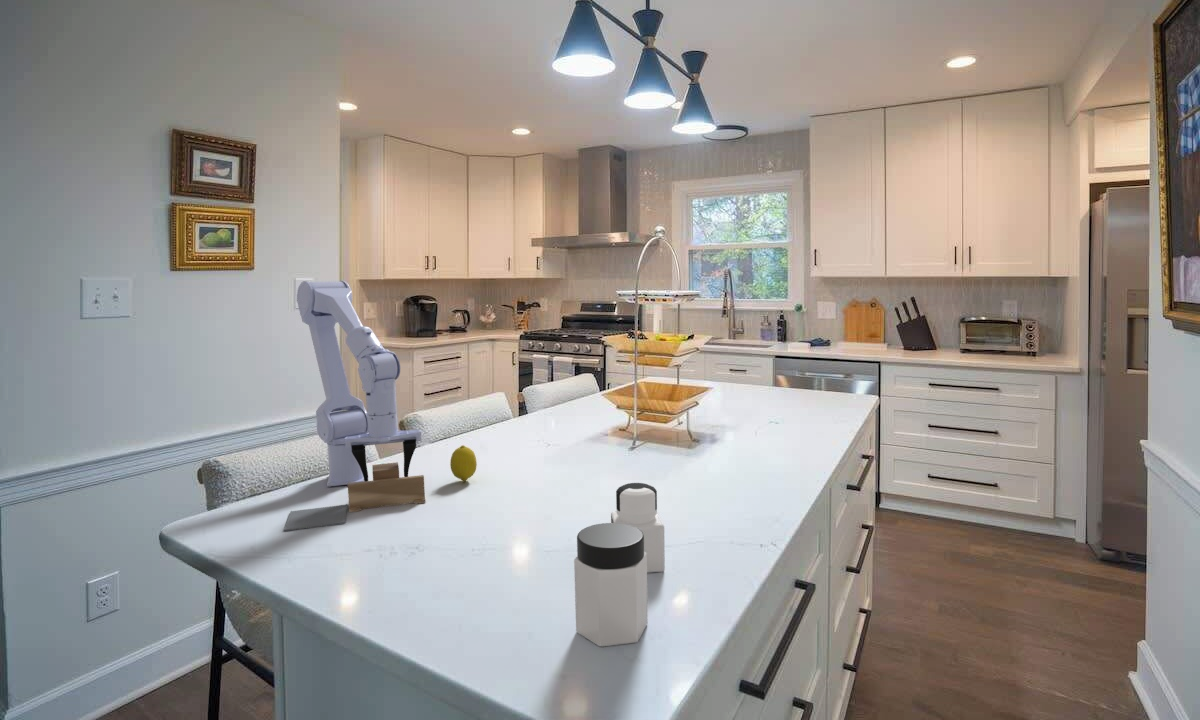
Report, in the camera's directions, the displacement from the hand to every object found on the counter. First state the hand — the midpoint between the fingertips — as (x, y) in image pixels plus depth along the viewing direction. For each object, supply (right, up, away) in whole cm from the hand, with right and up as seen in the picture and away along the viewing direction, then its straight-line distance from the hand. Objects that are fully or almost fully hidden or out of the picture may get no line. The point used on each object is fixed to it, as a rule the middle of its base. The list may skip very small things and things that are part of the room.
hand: (386, 478), depth 132 cm
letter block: (0, -4, +1) cm, 4 cm away
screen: (+2, -4, -6) cm, 7 cm away
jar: (+45, -9, -52) cm, 70 cm away
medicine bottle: (+49, -7, -34) cm, 60 cm away
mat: (-9, -5, -12) cm, 16 cm away
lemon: (+14, -2, +9) cm, 17 cm away
